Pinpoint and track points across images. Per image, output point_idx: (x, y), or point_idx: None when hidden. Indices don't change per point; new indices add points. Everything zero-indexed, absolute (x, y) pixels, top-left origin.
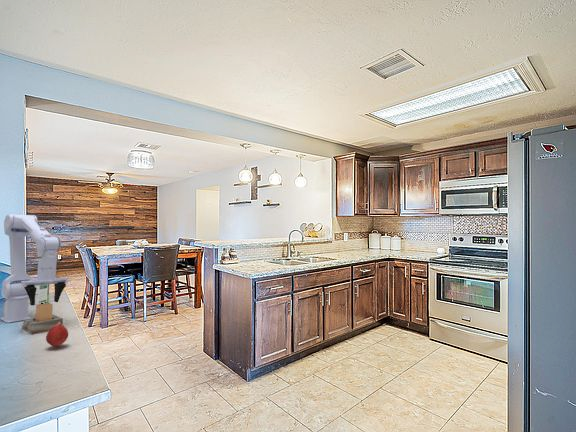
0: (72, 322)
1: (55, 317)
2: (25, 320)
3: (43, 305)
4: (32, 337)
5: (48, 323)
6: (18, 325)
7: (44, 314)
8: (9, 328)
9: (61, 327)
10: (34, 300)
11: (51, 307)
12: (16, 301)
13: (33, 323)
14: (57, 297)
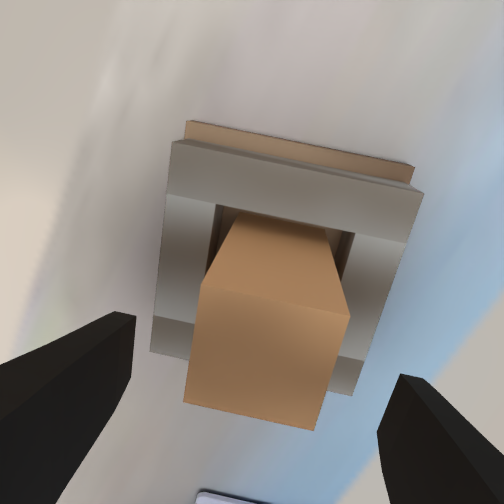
0: (79, 219)
1: (187, 247)
2: (364, 360)
3: (298, 328)
4: (461, 76)
5: (293, 164)
6: (308, 436)
7: (292, 259)
8: (372, 421)
9: None
10: (441, 417)
11: (222, 270)
12: None
13: (405, 209)
14: (95, 340)
